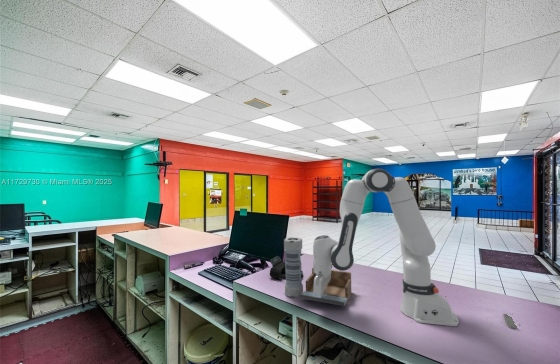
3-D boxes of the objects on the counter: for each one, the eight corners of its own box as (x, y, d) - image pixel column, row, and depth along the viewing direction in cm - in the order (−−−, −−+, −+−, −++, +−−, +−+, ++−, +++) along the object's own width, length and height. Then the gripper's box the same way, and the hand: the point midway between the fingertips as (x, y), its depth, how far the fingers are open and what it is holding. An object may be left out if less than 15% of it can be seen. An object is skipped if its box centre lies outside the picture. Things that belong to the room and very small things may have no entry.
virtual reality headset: (277, 267, 173) (279, 254, 173) (306, 277, 164) (308, 263, 163) (264, 276, 157) (266, 261, 156) (295, 288, 147) (298, 272, 146)
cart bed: (351, 292, 134) (351, 272, 134) (347, 303, 122) (347, 281, 122) (312, 286, 143) (312, 267, 143) (305, 296, 130) (305, 275, 131)
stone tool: (523, 330, 97) (506, 324, 100) (522, 333, 97) (506, 327, 100) (516, 315, 108) (501, 310, 111) (516, 318, 108) (501, 313, 111)
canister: (302, 298, 128) (301, 241, 129) (283, 296, 130) (282, 240, 131) (304, 290, 138) (303, 237, 138) (286, 288, 140) (285, 236, 140)
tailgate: (347, 297, 121) (344, 302, 113) (347, 301, 121) (344, 306, 113) (305, 290, 130) (299, 294, 122) (305, 293, 130) (299, 297, 121)
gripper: (323, 276, 110) (323, 307, 110) (333, 263, 129) (333, 289, 129) (309, 274, 113) (310, 304, 113) (321, 261, 132) (321, 287, 131)
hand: (322, 296), depth 121 cm, fingers closed
